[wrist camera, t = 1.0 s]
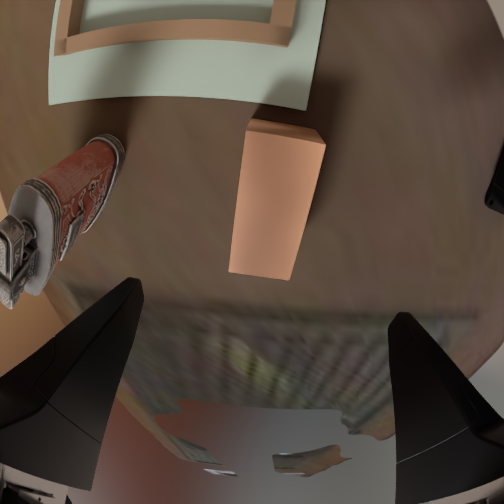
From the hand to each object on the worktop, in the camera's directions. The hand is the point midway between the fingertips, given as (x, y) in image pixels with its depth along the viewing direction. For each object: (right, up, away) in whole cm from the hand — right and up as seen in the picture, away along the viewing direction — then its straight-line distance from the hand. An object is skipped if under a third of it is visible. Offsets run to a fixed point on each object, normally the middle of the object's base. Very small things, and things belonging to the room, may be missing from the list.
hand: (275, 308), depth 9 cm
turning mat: (-5, +16, 0) cm, 17 cm away
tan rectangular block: (0, +6, +8) cm, 9 cm away
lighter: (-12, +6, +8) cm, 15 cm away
